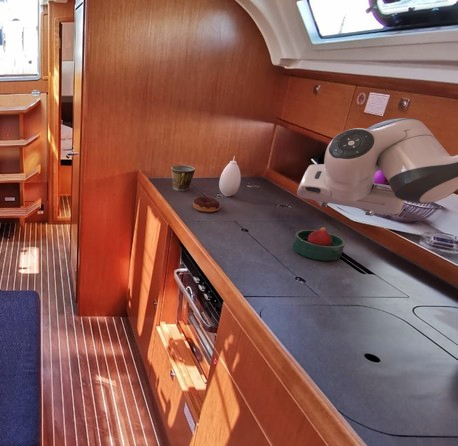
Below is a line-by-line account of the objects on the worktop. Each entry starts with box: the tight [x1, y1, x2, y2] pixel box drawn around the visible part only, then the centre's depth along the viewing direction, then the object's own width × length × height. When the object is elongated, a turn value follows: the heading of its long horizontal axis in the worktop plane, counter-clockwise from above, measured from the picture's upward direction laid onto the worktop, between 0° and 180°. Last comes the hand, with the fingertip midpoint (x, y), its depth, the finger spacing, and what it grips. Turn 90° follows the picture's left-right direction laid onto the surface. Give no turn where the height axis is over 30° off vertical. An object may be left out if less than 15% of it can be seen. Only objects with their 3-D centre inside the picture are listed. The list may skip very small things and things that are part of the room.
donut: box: [192, 196, 221, 213], centre depth 158 cm, size 10×10×4 cm
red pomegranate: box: [307, 227, 332, 246], centre depth 121 cm, size 6×6×8 cm
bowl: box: [292, 229, 346, 262], centre depth 122 cm, size 12×12×5 cm
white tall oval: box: [218, 155, 242, 197], centre depth 167 cm, size 8×8×18 cm
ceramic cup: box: [170, 164, 196, 192], centre depth 179 cm, size 13×10×10 cm
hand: (346, 208), depth 101 cm, fingers open, 8 cm apart
